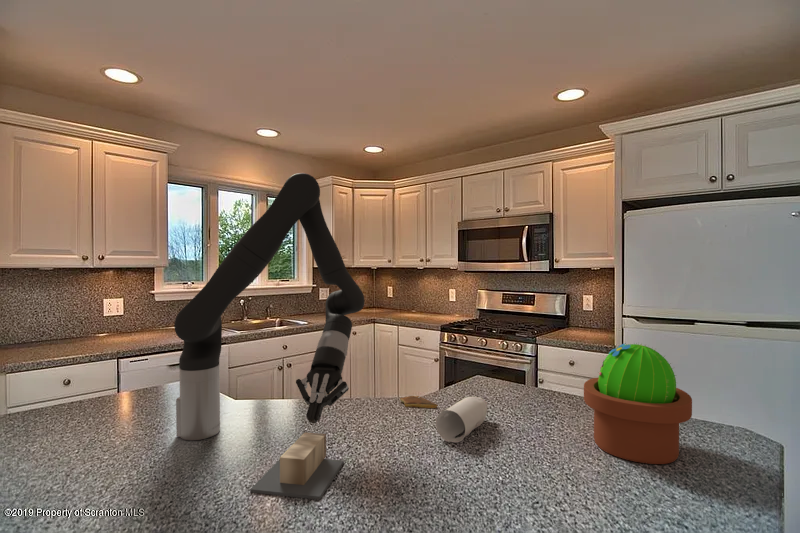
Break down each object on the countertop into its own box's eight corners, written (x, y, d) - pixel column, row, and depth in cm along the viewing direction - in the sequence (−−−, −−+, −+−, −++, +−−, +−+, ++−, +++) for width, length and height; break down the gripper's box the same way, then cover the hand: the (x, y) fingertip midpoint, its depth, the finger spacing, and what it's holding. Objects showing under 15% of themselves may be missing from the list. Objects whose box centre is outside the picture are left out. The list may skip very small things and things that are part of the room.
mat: (250, 492, 80) (250, 489, 80) (283, 457, 93) (283, 455, 93) (319, 499, 77) (319, 496, 77) (343, 463, 91) (343, 460, 91)
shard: (438, 409, 124) (438, 403, 124) (417, 415, 120) (417, 408, 120) (417, 399, 133) (416, 394, 133) (396, 404, 129) (396, 398, 129)
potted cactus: (684, 438, 103) (685, 337, 102) (698, 480, 83) (700, 356, 83) (587, 422, 113) (587, 330, 112) (579, 456, 94) (580, 345, 93)
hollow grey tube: (495, 422, 114) (495, 393, 114) (464, 447, 98) (464, 414, 98) (469, 415, 118) (469, 388, 118) (435, 439, 103) (435, 407, 103)
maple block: (304, 454, 94) (280, 482, 82) (304, 432, 94) (279, 457, 82) (326, 456, 93) (303, 485, 81) (325, 433, 93) (303, 459, 81)
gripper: (301, 344, 102) (278, 412, 90) (353, 345, 99) (336, 416, 87) (310, 360, 107) (289, 426, 95) (359, 362, 105) (344, 431, 93)
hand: (312, 421), depth 91 cm, fingers closed
